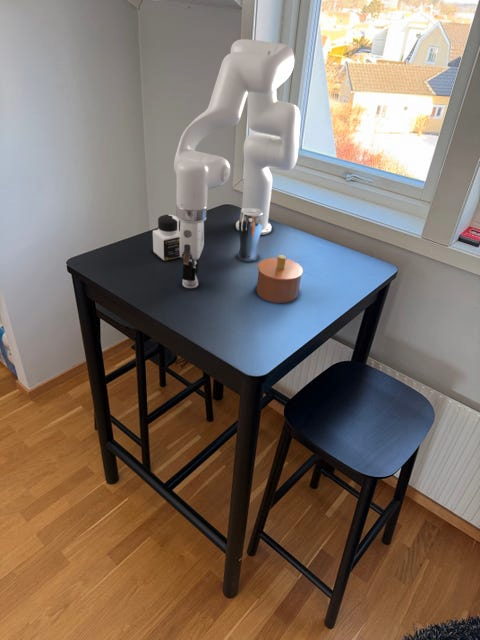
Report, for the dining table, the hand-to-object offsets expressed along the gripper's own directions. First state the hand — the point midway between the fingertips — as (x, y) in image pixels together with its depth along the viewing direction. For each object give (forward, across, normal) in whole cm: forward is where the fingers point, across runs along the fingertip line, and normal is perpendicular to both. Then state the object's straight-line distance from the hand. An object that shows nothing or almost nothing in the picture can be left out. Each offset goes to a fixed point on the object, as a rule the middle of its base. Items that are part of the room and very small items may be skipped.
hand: (190, 275), depth 127 cm
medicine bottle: (+3, +17, +10) cm, 20 cm away
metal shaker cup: (+3, +21, -14) cm, 25 cm away
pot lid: (-4, +2, -24) cm, 24 cm away
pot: (+3, +2, -24) cm, 24 cm away
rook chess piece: (+3, 0, 0) cm, 3 cm away
